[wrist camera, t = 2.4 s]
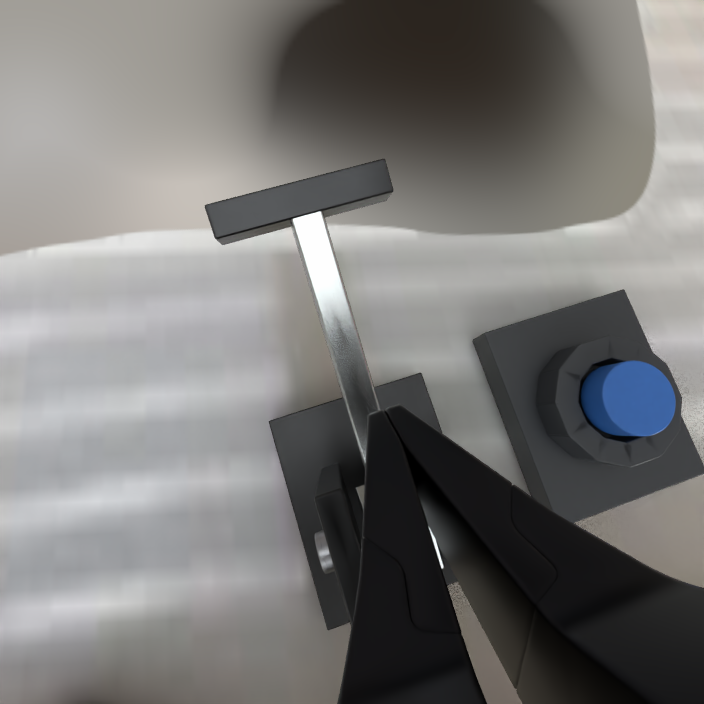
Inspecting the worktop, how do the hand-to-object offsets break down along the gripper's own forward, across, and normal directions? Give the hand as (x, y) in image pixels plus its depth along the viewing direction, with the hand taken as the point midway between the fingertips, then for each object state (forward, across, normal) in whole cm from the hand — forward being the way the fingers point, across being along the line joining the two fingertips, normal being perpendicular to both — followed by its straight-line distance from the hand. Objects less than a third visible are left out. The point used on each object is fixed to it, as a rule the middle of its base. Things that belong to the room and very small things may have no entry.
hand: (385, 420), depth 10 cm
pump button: (+5, -13, +9) cm, 17 cm away
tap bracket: (+7, 0, +12) cm, 14 cm away
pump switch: (+8, -13, +12) cm, 19 cm away
